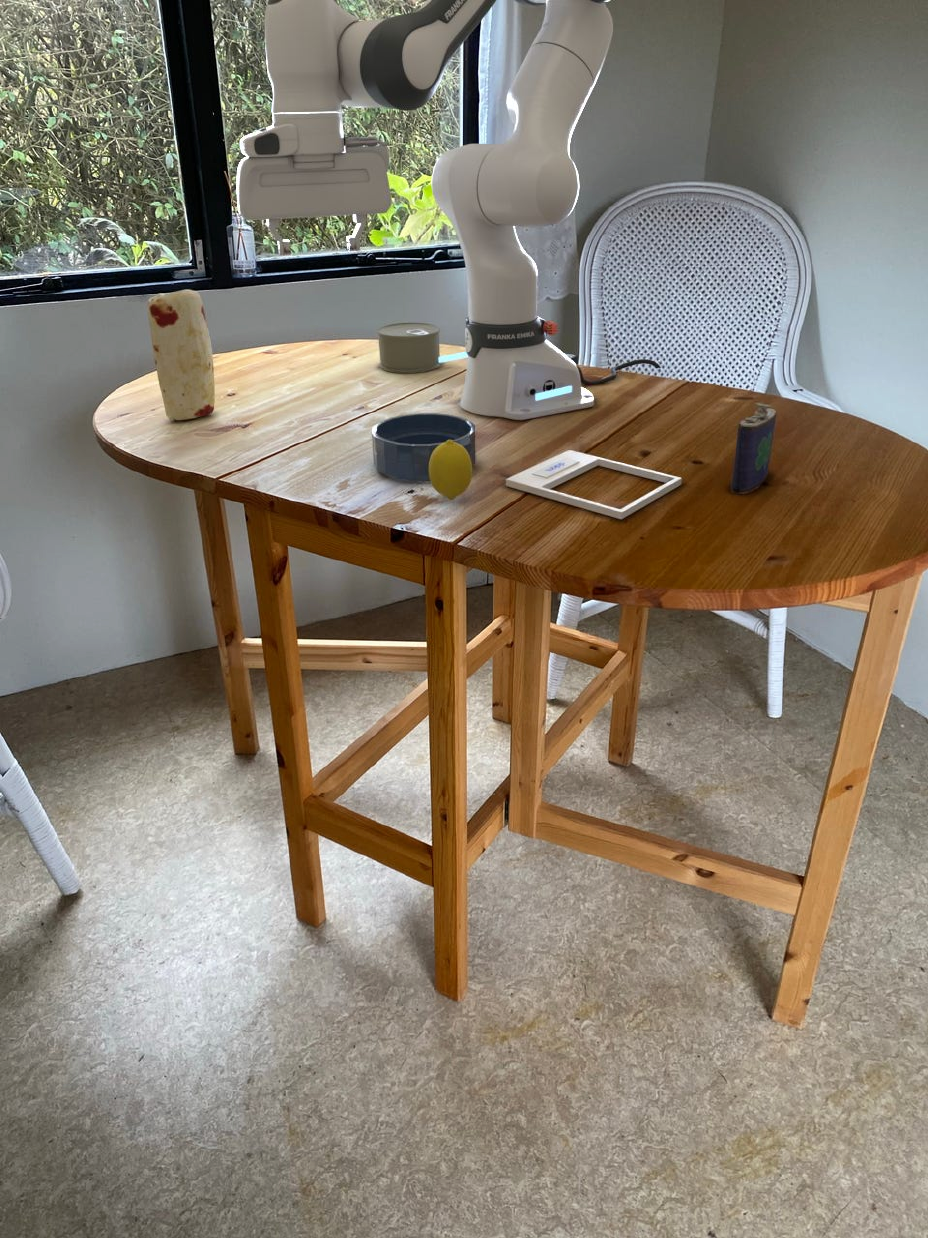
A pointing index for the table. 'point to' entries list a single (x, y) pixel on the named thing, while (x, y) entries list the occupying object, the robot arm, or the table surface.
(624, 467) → the photo frame
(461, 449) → the lemon
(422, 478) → the bowl
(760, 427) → the flask
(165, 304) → the food model
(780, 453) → the table surface
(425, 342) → the can
